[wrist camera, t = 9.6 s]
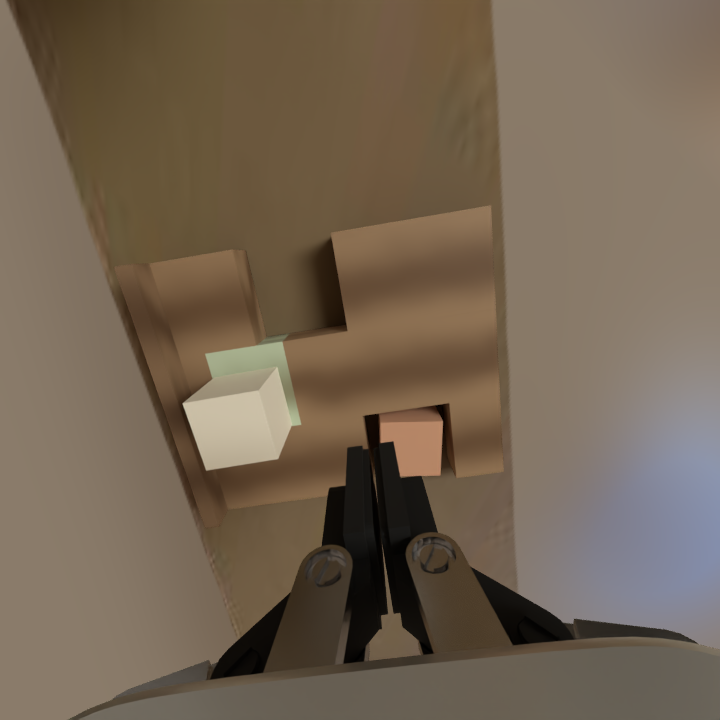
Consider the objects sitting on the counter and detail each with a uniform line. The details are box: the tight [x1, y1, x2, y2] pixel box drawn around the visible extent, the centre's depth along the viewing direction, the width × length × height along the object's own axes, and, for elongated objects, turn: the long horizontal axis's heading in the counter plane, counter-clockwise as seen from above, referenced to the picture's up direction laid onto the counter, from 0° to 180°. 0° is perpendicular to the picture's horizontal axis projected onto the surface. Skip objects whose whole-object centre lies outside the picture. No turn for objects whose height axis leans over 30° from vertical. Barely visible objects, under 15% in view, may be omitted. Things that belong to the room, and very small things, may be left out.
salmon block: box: [378, 405, 443, 476], centre depth 30 cm, size 5×5×4 cm
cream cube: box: [182, 367, 292, 471], centre depth 25 cm, size 5×5×5 cm
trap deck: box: [114, 205, 504, 528], centre depth 27 cm, size 21×25×5 cm
